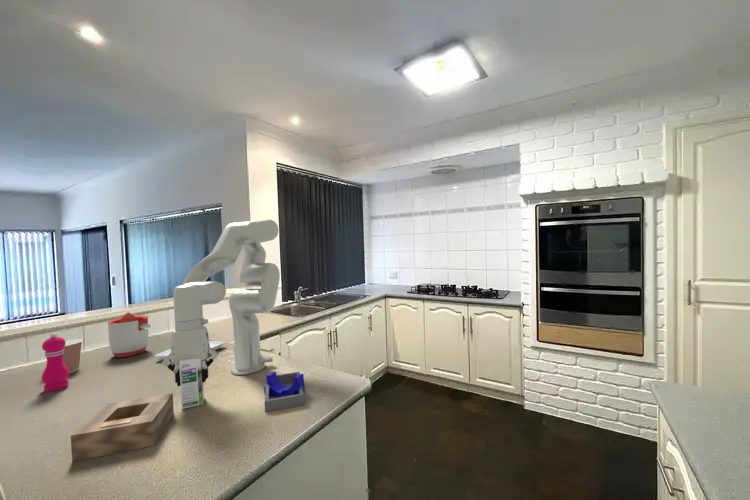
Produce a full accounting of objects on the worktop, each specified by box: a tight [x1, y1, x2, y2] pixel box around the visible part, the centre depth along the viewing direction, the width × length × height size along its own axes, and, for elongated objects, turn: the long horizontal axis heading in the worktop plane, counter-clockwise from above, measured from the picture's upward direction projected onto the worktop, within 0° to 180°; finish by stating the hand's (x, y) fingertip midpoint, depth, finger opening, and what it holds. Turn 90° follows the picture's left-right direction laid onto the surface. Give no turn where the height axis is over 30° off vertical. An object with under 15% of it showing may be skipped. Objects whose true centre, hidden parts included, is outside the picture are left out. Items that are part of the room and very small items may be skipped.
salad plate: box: [154, 340, 226, 361], centre depth 148 cm, size 21×21×3 cm
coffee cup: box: [63, 338, 83, 374], centre depth 133 cm, size 10×10×12 cm
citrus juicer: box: [106, 312, 151, 358], centre depth 153 cm, size 16×17×20 cm
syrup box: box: [179, 358, 205, 410], centre depth 98 cm, size 6×6×14 cm
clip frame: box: [264, 371, 305, 413], centre depth 102 cm, size 11×19×3 cm, turn 17°
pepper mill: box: [41, 332, 71, 392], centre depth 116 cm, size 7×7×20 cm
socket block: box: [70, 392, 175, 462], centre depth 83 cm, size 16×16×6 cm
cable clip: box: [263, 371, 306, 398], centre depth 102 cm, size 12×4×6 cm, turn 71°
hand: (192, 382), depth 98 cm, fingers closed on syrup box, 6 cm apart
